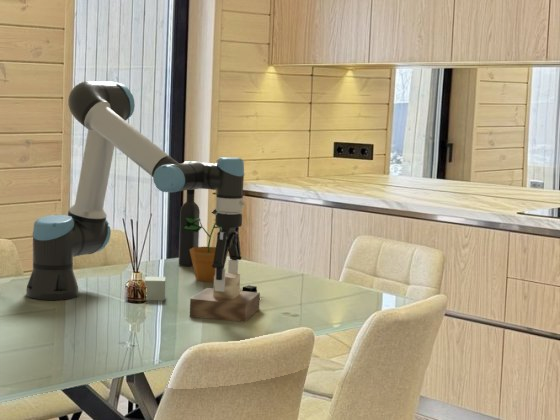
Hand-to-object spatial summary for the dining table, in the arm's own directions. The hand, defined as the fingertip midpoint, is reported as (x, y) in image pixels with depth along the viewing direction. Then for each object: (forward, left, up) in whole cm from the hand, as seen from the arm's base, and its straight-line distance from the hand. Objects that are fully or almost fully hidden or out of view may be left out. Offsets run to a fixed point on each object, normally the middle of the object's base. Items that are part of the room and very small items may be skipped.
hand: (226, 286), depth 273 cm
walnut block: (0, 0, -8) cm, 8 cm away
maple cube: (0, 0, -3) cm, 3 cm away
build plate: (+2, +20, -8) cm, 22 cm away
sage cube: (-25, +10, -8) cm, 28 cm away
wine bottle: (-33, +66, -8) cm, 74 cm away
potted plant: (-19, +44, -8) cm, 49 cm away
